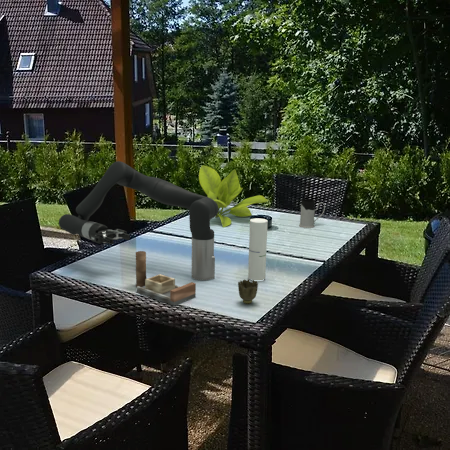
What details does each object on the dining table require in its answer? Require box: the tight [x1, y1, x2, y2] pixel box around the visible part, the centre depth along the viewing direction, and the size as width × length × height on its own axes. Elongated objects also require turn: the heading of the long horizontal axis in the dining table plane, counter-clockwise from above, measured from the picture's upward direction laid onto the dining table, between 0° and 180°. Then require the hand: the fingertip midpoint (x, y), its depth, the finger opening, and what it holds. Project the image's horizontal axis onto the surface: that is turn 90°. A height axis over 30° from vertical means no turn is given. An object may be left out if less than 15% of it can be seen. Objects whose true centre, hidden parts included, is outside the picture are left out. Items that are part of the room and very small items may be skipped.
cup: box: [237, 279, 259, 305], centre depth 208 cm, size 8×7×8 cm
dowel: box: [135, 250, 147, 288], centre depth 221 cm, size 4×4×14 cm
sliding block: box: [145, 273, 176, 294], centre depth 216 cm, size 8×8×4 cm
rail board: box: [136, 281, 197, 307], centre depth 214 cm, size 20×12×6 cm, turn 51°
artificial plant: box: [198, 165, 269, 228], centre depth 329 cm, size 42×43×30 cm
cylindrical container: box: [247, 217, 268, 280], centre depth 231 cm, size 7×7×25 cm
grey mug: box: [298, 198, 326, 229], centre depth 319 cm, size 9×14×15 cm, turn 96°
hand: (121, 239), depth 226 cm, fingers open, 8 cm apart
